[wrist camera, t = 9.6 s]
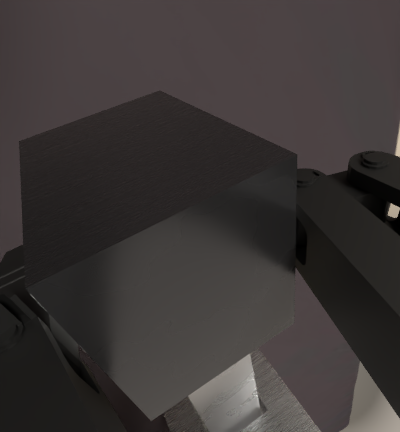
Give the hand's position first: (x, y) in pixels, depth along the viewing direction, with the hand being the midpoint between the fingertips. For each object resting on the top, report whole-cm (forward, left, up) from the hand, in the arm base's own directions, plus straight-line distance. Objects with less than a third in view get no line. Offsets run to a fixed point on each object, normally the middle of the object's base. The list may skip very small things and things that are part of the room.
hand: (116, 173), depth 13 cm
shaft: (0, -12, +1) cm, 12 cm away
